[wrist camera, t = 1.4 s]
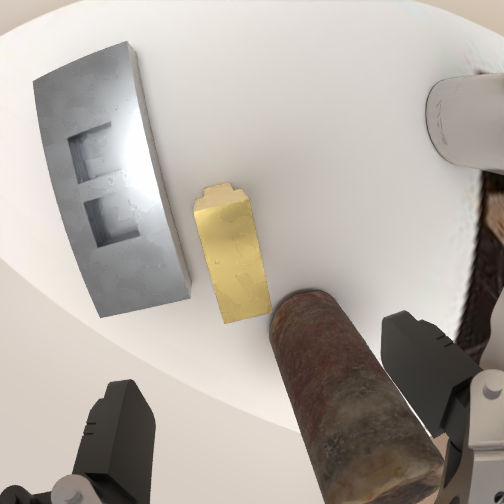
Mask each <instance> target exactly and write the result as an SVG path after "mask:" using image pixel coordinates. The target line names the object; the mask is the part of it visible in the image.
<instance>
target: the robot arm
mask: <svg viewBox="0 0 504 504" xmlns="http://www.w3.org/2000/svg"><path fill="white" fill-rule="evenodd" d="M426 117H427V125H428V130H429V134H430V136H431V139H432V142H433V144H434V145H435V147H436V149H437V151H438V152H439V153H440V154H441V156H442V157H443V158H445V159H446V160H447V161H448V162H451V163H453V164H456V165H461V166H466V167H471V168H476V169H480V170H484V171H489V172H493V173H498V174H502V175H504V73H494V74H483V75H473V76H465V77H457V78H450V79H445V80H442V81H440V82H438V83H437V84H436V85H435V86H434V87H433V88H432V90H431V92H430V94H429V98H428V102H427V110H426ZM381 360H382V364H383V367H384V369H385V371H386V372H387V373H388V375H389V376H390V378H391V379H392V380H393V382H394V383H395V384H396V386H397V387H398V389H399V390H400V391H401V393H402V394H403V396H404V397H405V398H406V400H407V401H408V403H409V404H410V405H411V407H412V408H413V410H414V411H415V412H416V414H417V415H418V417H419V418H420V419H421V421H422V422H423V424H424V425H425V427H426V428H427V429H428V431H429V432H430V434H431V435H432V437H433V438H436V437H438V436H440V435H441V434H443V433H445V432H446V434H447V435H448V436H449V439H448V443H447V449H446V456H445V462H444V468H443V473H442V478H441V483H440V489H439V493H438V495H437V498H436V501H435V503H434V504H504V372H502V371H499V370H494V369H490V370H485V371H484V370H483V369H481V368H480V367H479V366H478V365H477V364H476V363H475V362H474V361H473V360H472V359H471V358H470V357H469V356H468V355H467V354H466V353H465V352H464V351H463V350H462V349H461V348H460V347H459V346H457V345H456V344H454V343H453V341H452V340H451V339H450V338H449V337H448V336H446V335H445V333H443V332H442V331H441V330H440V329H439V328H438V327H437V326H436V325H434V324H431V323H429V322H427V321H424V320H420V321H417V320H416V319H415V318H414V317H413V316H412V315H411V314H410V313H409V312H407V311H405V310H403V311H400V312H398V313H395V314H392V315H390V316H387V317H384V318H383V320H382V334H381ZM86 423H87V425H86V426H85V429H84V432H83V433H84V436H82V439H81V443H80V446H79V450H78V453H77V457H76V461H75V464H74V468H73V472H72V475H67V476H65V477H63V478H61V479H60V480H59V481H57V482H56V484H55V485H54V487H53V489H52V491H50V492H45V493H40V494H34V495H31V494H30V493H29V492H28V491H27V490H25V489H24V488H23V487H21V486H18V485H12V486H9V487H7V488H6V489H5V490H4V491H3V492H2V493H1V495H0V504H150V491H151V490H150V489H151V475H152V462H153V450H154V439H155V430H156V424H155V418H154V415H153V412H152V410H151V408H150V407H149V405H148V403H147V402H146V400H145V398H144V397H143V395H142V393H141V392H140V390H139V388H138V386H137V385H136V383H135V382H134V381H133V380H131V379H129V380H122V381H114V382H110V383H109V384H108V386H107V389H106V392H105V396H104V398H102V399H99V400H98V401H97V402H96V404H95V405H94V406H93V407H92V409H91V410H90V413H89V416H88V419H87V422H86Z"/></svg>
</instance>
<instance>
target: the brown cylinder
mask: <svg viewBox="0 0 504 504" xmlns="http://www.w3.org/2000/svg"><path fill="white" fill-rule="evenodd" d="M269 339H270V343H271V346H272V349H273V352H274V355H275V358H276V361H277V364H278V367H279V370H280V373H281V376H282V379H283V382H284V385H285V388H286V391H287V393H288V396H289V399H290V402H291V404H292V408H293V411H294V414H295V417H296V420H297V423H298V426H299V429H300V432H301V435H302V438H303V441H304V443H305V446H306V449H307V452H308V455H309V458H310V461H311V464H312V466H313V470H314V472H315V475H316V478H317V481H318V484H319V487H320V490H321V493H322V496H323V499H324V502H325V504H416V503H418V502H420V501H422V500H423V499H425V498H426V497H428V496H430V495H431V494H433V493H434V492H436V491H437V490H438V489H439V487H440V483H441V478H442V473H443V468H444V462H445V461H444V459H443V457H442V455H441V454H440V452H439V450H438V449H437V448H436V446H435V445H434V444H433V442H432V441H431V439H430V437H429V435H428V434H427V432H426V431H425V429H424V428H423V426H422V425H421V423H420V421H419V420H418V419H417V417H416V416H415V415H414V413H413V412H412V411H411V409H410V408H409V406H408V405H407V403H406V401H405V399H404V398H403V396H402V395H401V393H400V392H399V390H398V389H397V387H396V386H395V384H394V383H393V382H392V380H391V379H390V378H389V376H388V375H387V373H386V372H385V370H384V369H383V368H382V366H381V365H380V363H379V362H378V360H377V359H376V357H375V356H374V354H373V353H372V351H371V350H370V348H369V347H368V345H367V343H366V342H365V340H364V339H363V338H362V336H361V335H360V334H359V332H358V331H357V329H356V328H355V326H354V325H353V324H352V322H351V321H350V319H349V318H348V317H347V315H346V314H345V312H344V311H343V310H342V309H341V307H340V306H339V304H338V303H337V302H336V300H335V299H334V298H333V297H331V296H330V295H329V294H327V293H325V292H323V291H314V292H308V293H302V294H298V295H294V296H293V297H291V298H290V299H289V300H287V301H285V302H284V303H283V304H282V305H281V307H280V308H279V309H278V310H277V312H276V314H275V316H274V318H273V322H272V324H271V327H270V333H269Z"/></svg>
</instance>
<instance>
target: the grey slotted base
mask: <svg viewBox="0 0 504 504" xmlns="http://www.w3.org/2000/svg"><path fill="white" fill-rule="evenodd" d="M33 87H34V95H35V103H36V110H37V116H38V122H39V128H40V133H41V138H42V143H43V148H44V153H45V157H46V162H47V166H48V170H49V174H50V178H51V182H52V186H53V190H54V193H55V197H56V200H57V204H58V207H59V211H60V214H61V217H62V220H63V224H64V227H65V230H66V233H67V236H68V239H69V242H70V244H71V247H72V250H73V253H74V256H75V258H76V261H77V264H78V266H79V269H80V272H81V274H82V277H83V279H84V282H85V284H86V287H87V289H88V291H89V294H90V296H91V298H92V301H93V303H94V305H95V308H96V310H97V312H98V314H99V316H100V318H103V317H108V316H113V315H117V314H122V313H127V312H131V311H136V310H141V309H145V308H150V307H154V306H159V305H163V304H168V303H172V302H177V301H181V300H185V299H190V297H191V285H192V281H191V278H190V275H189V272H188V268H187V265H186V262H185V258H184V255H183V252H182V248H181V245H180V241H179V238H178V234H177V231H176V227H175V223H174V220H173V216H172V213H171V209H170V205H169V201H168V198H167V194H166V190H165V186H164V182H163V178H162V174H161V170H160V166H159V162H158V158H157V153H156V149H155V145H154V141H153V136H152V132H151V127H150V123H149V118H148V114H147V109H146V104H145V99H144V94H143V89H142V84H141V79H140V74H139V68H138V63H137V57H136V52H135V51H134V49H133V48H132V47H131V46H130V44H129V43H128V42H127V41H126V42H123V43H120V44H117V45H114V46H111V47H108V48H106V49H103V50H100V51H98V52H95V53H93V54H90V55H88V56H85V57H83V58H80V59H78V60H76V61H73V62H71V63H69V64H67V65H65V66H62V67H60V68H58V69H56V70H54V71H52V72H50V73H48V74H46V75H44V76H42V77H40V78H38V79H36V80H34V81H33Z"/></svg>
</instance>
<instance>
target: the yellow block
mask: <svg viewBox="0 0 504 504" xmlns="http://www.w3.org/2000/svg"><path fill="white" fill-rule="evenodd" d="M193 213H194V217H195V221H196V225H197V229H198V232H199V236H200V240H201V244H202V247H203V251H204V255H205V258H206V262H207V266H208V269H209V273H210V276H211V280H212V283H213V287H214V290H215V294H216V297H217V301H218V304H219V307H220V311H221V314H222V318H223V321H224V324H226V323H230V322H235V321H239V320H243V319H247V318H251V317H255V316H259V315H263V314H267V313H271V312H273V311H272V306H271V302H270V297H269V292H268V287H267V282H266V277H265V272H264V268H263V263H262V258H261V253H260V248H259V243H258V239H257V234H256V229H255V224H254V220H253V215H252V210H251V205H250V201H249V198H248V197H247V195H246V194H245V193H244V192H243V190H242V189H237V190H233V188H232V187H231V185H230V183H229V182H228V183H224V184H220V185H215V186H211V187H207V188H204V197H203V198H199V199H196V201H195V206H194V211H193Z"/></svg>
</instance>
